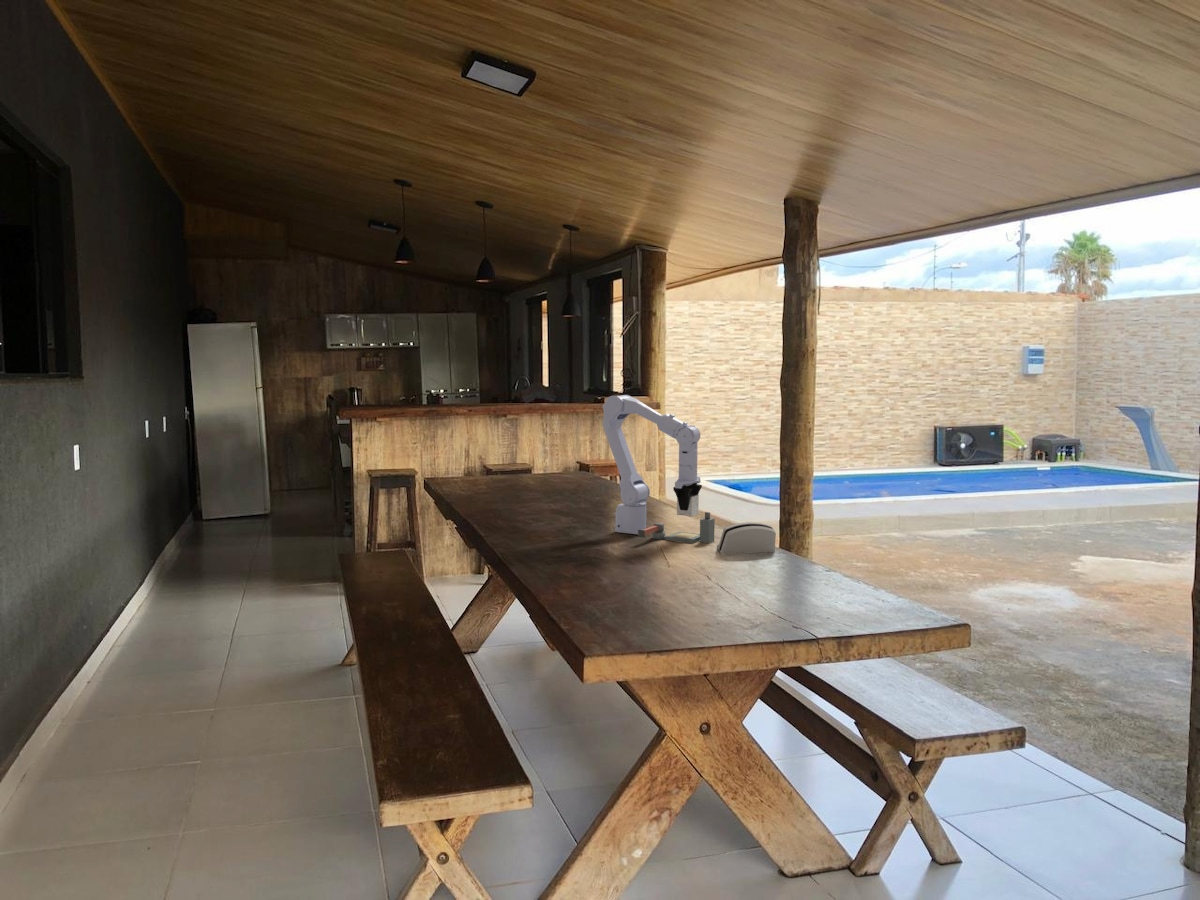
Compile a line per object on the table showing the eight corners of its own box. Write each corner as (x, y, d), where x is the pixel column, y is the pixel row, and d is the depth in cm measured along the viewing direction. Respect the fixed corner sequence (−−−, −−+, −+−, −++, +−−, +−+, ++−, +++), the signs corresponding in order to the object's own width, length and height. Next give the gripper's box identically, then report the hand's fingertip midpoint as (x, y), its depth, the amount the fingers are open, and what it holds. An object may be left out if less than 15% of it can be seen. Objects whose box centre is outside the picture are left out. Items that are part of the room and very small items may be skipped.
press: (649, 538, 288) (650, 509, 288) (663, 533, 297) (663, 505, 296) (704, 545, 279) (705, 515, 278) (717, 539, 287) (718, 510, 286)
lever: (635, 536, 279) (635, 529, 279) (656, 529, 291) (656, 522, 291) (644, 537, 278) (644, 530, 277) (665, 530, 289) (665, 523, 289)
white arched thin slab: (768, 548, 275) (773, 518, 271) (774, 556, 271) (780, 526, 267) (714, 550, 271) (719, 520, 267) (720, 559, 267) (725, 529, 262)
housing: (676, 514, 289) (677, 495, 289) (683, 512, 293) (683, 493, 293) (691, 516, 287) (692, 496, 286) (698, 513, 291) (698, 494, 290)
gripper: (690, 468, 280) (689, 513, 282) (709, 463, 293) (708, 506, 294) (668, 467, 284) (668, 511, 285) (688, 462, 296) (688, 504, 298)
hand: (687, 508), depth 290 cm, fingers closed on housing, 5 cm apart
